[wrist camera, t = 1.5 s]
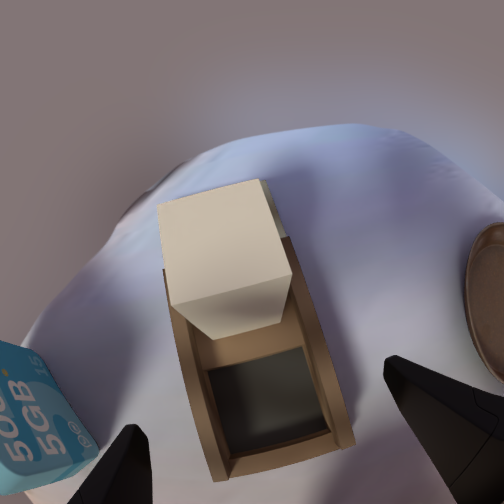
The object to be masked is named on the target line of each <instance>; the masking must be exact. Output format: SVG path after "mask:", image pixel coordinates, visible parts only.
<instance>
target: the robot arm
mask: <svg viewBox="0 0 504 504" xmlns="http://www.w3.org/2000/svg"><path fill="white" fill-rule="evenodd" d="M383 377H384V380H385V382H386V384H387V386H388V388H389V390H390V392H391V394H392V396H393V398H394V400H395V402H396V404H397V406H398V408H399V410H400V412H401V414H402V415H403V417H404V418H405V420H406V421H407V423H408V424H409V426H410V428H411V429H412V431H413V432H414V434H415V435H416V437H417V438H418V440H419V442H420V443H421V445H422V446H423V448H424V449H425V451H426V453H427V454H428V456H429V457H430V459H431V461H432V462H433V464H434V465H435V467H436V469H437V470H438V472H439V474H440V475H441V477H442V479H443V480H444V482H445V483H446V485H447V487H448V488H449V490H450V492H451V494H452V495H453V497H454V499H455V500H456V502H457V504H504V397H501V396H498V395H494V394H491V393H488V392H485V391H482V390H480V389H477V388H475V387H473V388H472V386H469V385H467V384H464V383H462V382H459V381H457V380H454V379H452V378H450V377H447V376H445V375H442V374H440V373H437V372H435V371H433V370H430V369H428V368H425V367H423V366H421V365H418V364H416V363H414V362H411V361H409V360H407V359H404V358H402V357H400V356H397V355H393V356H390V357H388V358H386V359H385V361H384V371H383ZM67 504H153V496H152V469H151V461H150V451H149V442H148V438H147V436H146V435H145V434H144V432H143V431H142V430H141V429H140V427H139V426H138V425H137V424H128V425H126V426H125V427H124V428H123V429H122V431H121V432H120V433H119V435H118V436H117V437H116V439H115V440H114V441H113V443H112V444H111V446H110V447H109V448H108V450H107V451H106V452H105V454H104V455H103V456H102V458H101V459H100V460H99V462H98V463H97V464H96V466H95V467H94V469H93V470H92V471H91V473H90V474H89V475H88V477H87V478H86V479H85V481H84V482H83V483H82V485H81V486H80V487H79V490H77V491H76V493H75V494H74V495H73V497H72V498H71V499H70V501H69V502H68V503H67Z"/></svg>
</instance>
